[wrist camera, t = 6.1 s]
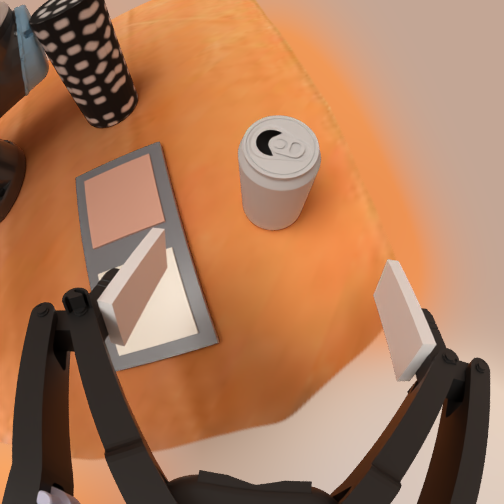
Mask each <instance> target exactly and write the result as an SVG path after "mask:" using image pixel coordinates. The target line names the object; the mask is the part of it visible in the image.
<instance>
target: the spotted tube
mask: <svg viewBox="0 0 504 504" xmlns="http://www.w3.org/2000/svg"><path fill="white" fill-rule="evenodd" d="M29 24H30V26H31V27H32V29H33V31H34V33H35V35H36V36H37V38H38V40H39V42H40V44H41V45H42V47H43V49H44V51H45V52H46V54H47V56H48V58H49V59H50V61H51V63H52V64H53V66H54V68H55V69H56V71H57V73H58V74H59V76H60V78H61V79H62V81H63V83H64V84H65V86H66V88H67V89H68V91H69V92H70V94H71V96H72V97H73V99H74V100H75V102H76V104H77V105H78V107H79V108H80V110H81V111H82V113H83V114H84V116H85V118H86V119H87V121H88V122H89V123H90V124H91V125H92V126H94V127H99V128H103V127H109V126H112V125H114V124H117V123H119V122H120V121H122V120H123V119H125V118H126V117H127V116H128V115H129V114H130V113H131V112H132V111H133V109H134V108H135V106H136V104H137V101H138V95H137V92H136V89H135V86H134V84H133V81H132V78H131V76H130V73H129V70H128V68H127V65H126V62H125V59H124V57H123V54H122V51H121V48H120V45H119V43H118V40H117V37H116V34H115V31H114V28H113V25H112V22H111V19H110V16H109V13H108V10H107V7H106V4H105V1H104V0H48V1H47V2H46V3H44V4H43V5H42V6H41V7H39V8H38V9H37V10H36V11H35V12H34V14H33V15H32V16H31V18H30V20H29Z"/></svg>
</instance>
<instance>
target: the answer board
mask: <svg viewBox="0 0 504 504" xmlns="http://www.w3.org/2000/svg"><path fill="white" fill-rule="evenodd" d="M76 191H77V202H78V212H79V221H80V229H81V236H82V243H83V249H84V255H85V261H86V267H87V272H88V277H89V282H90V287H91V291H92V290H93V288H94V287H95V286H96V285H97V283H98V282H99V281H100V280H101V278H102V277H103V275H104V274H105V273H106V272H107V271H109V270H111V269H112V268H118V269H121V267H122V266H123V265H124V263H125V262H126V261H127V259H128V258H129V257H130V255H131V254H132V253H133V252H134V250H135V249H136V248H137V247H138V245H139V244H140V243H141V242H142V240H143V239H144V238H145V237H146V235H147V234H148V233H149V232H150V230H151V229H152V228H161V229H165V241H166V256H167V269H166V271H165V273H164V275H163V276H162V278H161V280H160V282H159V283H158V285H157V287H156V289H155V291H154V292H153V294H152V296H151V298H150V300H149V301H148V303H147V305H146V307H145V309H144V311H143V313H142V314H141V316H140V318H139V320H138V322H137V324H136V326H135V328H134V329H133V331H132V333H131V335H130V337H129V339H128V341H127V343H126V345H125V347H124V346H121V345H117V344H113V343H111V341H110V339H109V336H107V338H106V340H105V343H106V346H107V349H108V352H109V355H110V357H111V360H112V363H113V366H114V369H115V371H119V370H124V369H128V368H132V367H136V366H139V365H143V364H147V363H151V362H155V361H158V360H162V359H166V358H169V357H173V356H176V355H180V354H183V353H187V352H190V351H193V350H197V349H200V348H203V347H207V346H210V345H213V344H216V343H219V342H220V341H219V339H218V336H217V333H216V330H215V327H214V324H213V321H212V318H211V315H210V312H209V309H208V306H207V303H206V300H205V297H204V294H203V291H202V288H201V285H200V281H199V278H198V275H197V272H196V269H195V265H194V262H193V259H192V255H191V252H190V249H189V245H188V242H187V239H186V235H185V232H184V228H183V225H182V221H181V218H180V214H179V210H178V207H177V203H176V199H175V196H174V192H173V188H172V184H171V181H170V177H169V173H168V169H167V165H166V161H165V157H164V153H163V149H162V146H161V144H160V142H156V143H154V144H151V145H148V146H146V147H143V148H141V149H138V150H136V151H133V152H131V153H129V154H126V155H124V156H122V157H119V158H117V159H115V160H112V161H110V162H108V163H106V164H103V165H101V166H99V167H97V168H95V169H93V170H91V171H89V172H86V173H84V174H82V175H80V176H78V177H76Z"/></svg>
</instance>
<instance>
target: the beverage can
mask: <svg viewBox="0 0 504 504" xmlns="http://www.w3.org/2000/svg"><path fill="white" fill-rule="evenodd" d="M238 161H239V172H240V182H241V193H242V204H243V209H244V212H245V214H246V216H247V217H248V218H249V220H250V221H251V222H252V223H254V224H255V225H257V226H258V227H260V228H263V229H267V230H279V229H283V228H286V227H288V226H290V225H291V224H292V223H294V222H295V221H296V219H297V218H298V217H299V215H300V213H301V210H302V208H303V206H304V203H305V201H306V199H307V196H308V194H309V191H310V189H311V187H312V184H313V182H314V180H315V177H316V175H317V172H318V170H319V167H320V163H321V154H320V150H319V143H318V140H317V138H316V136H315V134H314V133H313V131H312V130H311V129H310V128H309V127H308V126H307V125H306V124H304V123H303V122H301V121H299V120H297V119H295V118H292V117H288V116H269V117H265V118H262V119H260V120H258V121H257V122H255V123H253V124H252V125H251V126H250V127H249V128H248V130H247V131H246V133H245V135H244V137H243V139H242V140H241V142H240V145H239V149H238Z"/></svg>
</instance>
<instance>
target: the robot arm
mask: <svg viewBox="0 0 504 504" xmlns="http://www.w3.org/2000/svg"><path fill="white" fill-rule="evenodd" d="M30 18H31V15H30V13H29V11H28V9H27V8H26V6H25V5H21V6H19V7H16V8H15V9H14V10H13V11H12V10H11V9H10V8H9V6H8V5H7V4H6V3H5V2H0V118H1V117H2V116H3V115H4V114H5V113H6V112H7V111H8V110H9V109H11V108H12V107H13V106H14V105H15V104H16V103H17V102H18V101H20V100H21V99H22V98H23V97H24V96H27V95H28V94H29V91H31V90H32V89H33V88H34V87H35V86H36V85H37V84H39V83H40V82H41V81H42V80H43V79H44V78H45V77H46V75H47V73H48V70H49V64H48V60H47V57H46V54H45V51H44V49H43V47H42V45H41V44H40V42H39V40H38V38H37V36H36V35H35V33H34V31H33V29H32V27H31V26H30V24H29V20H30ZM25 166H26V161H25V155H24V152H23V151H22V149H21V148H19V147H18V146H17V145H16V144H15V143H13V142H11V141H8V140H2V139H0V222H1V221H2V220H3V218H4V217H5V216H6V215H7V213H8V212H9V210H10V209H11V207H12V205H13V203H14V202H15V200H16V198H17V195H18V193H19V191H20V188H21V185H22V182H23V178H24V174H25ZM166 269H167V256H166V241H165V229H161V228H152V229H151V230H150V232H149V233H148V234H147V235H146V237H145V238H144V239H143V240H142V242H141V243H140V244H139V245H138V247H137V248H136V249H135V250H134V252H133V253H132V254H131V255H130V257H129V258H128V259H127V261H126V262H125V263H124V265H123V266H122V267H121V269H118V268H112V269H111V270H109V271H107V272H106V273H105V274H104V275H103V277H102V278H101V280H100V281H99V282H98V283H97V285H96V286H95V287H94V288H93V290H92V291H91V292H90V294H89V293H88V291H87V290H85V289H84V288H73V289H71V290H69V291H68V292H66V293H65V294H64V296H63V298H62V302H63V305H64V307H65V310H64V311H55V308H54V306H53V305H52V304H51V303H47V302H44V303H40V304H39V305H37V306H36V307H35V308H34V309H33V310H32V312H31V316H30V320H29V324H28V328H27V332H26V337H25V341H24V346H23V351H22V356H21V362H20V368H19V374H18V381H17V388H16V397H15V406H14V419H13V439H12V466H11V470H10V473H9V477H8V481H7V484H6V488H5V493H4V497H3V501H2V504H80V503H79V501H78V500H77V499H76V498H74V497H73V488H74V484H73V471H72V463H71V451H70V437H69V365H70V351H75V356H76V360H77V364H78V368H79V372H80V376H81V380H82V383H83V387H84V390H85V394H86V397H87V400H88V404H89V407H90V410H91V413H92V416H93V419H94V422H95V425H96V427H97V430H98V433H99V436H100V438H101V441H102V443H103V446H104V449H105V454H104V455H105V459H106V461H107V464H108V466H109V469H110V471H111V473H112V475H113V477H114V480H115V482H116V484H117V486H118V488H119V490H120V492H121V494H122V496H123V498H124V500H125V502H126V504H390V503H391V502H392V501H393V499H394V498H395V496H396V495H397V494H398V492H399V490H400V488H401V483H400V482H401V480H402V478H403V476H404V475H405V473H406V472H407V470H408V469H409V467H410V465H411V464H412V462H413V460H414V459H415V457H416V455H417V454H418V452H419V450H420V448H421V446H422V445H423V443H424V441H425V439H426V437H427V435H428V434H429V432H430V430H431V428H432V426H433V424H434V422H435V420H436V418H437V416H438V413H439V411H440V409H441V407H442V405H443V407H442V413H441V418H440V424H439V428H438V433H437V438H436V442H435V446H434V450H433V454H432V458H431V461H430V465H429V469H428V472H427V475H426V478H425V482H424V485H423V488H422V491H421V494H420V497H419V499H418V502H417V504H476V502H477V498H478V494H479V489H480V484H481V479H482V474H483V468H484V462H485V455H486V447H487V438H488V428H489V412H490V369H489V366H488V364H487V363H486V362H485V361H484V360H483V359H481V358H474V359H473V360H472V361H471V362H470V363H466V362H462V361H459V359H458V356H457V355H456V353H455V352H453V351H452V350H450V349H448V348H446V346H445V343H444V341H443V339H442V337H441V334H440V332H439V330H438V327H437V325H436V324H435V321H434V318H433V316H432V315H431V313H430V312H429V311H428V310H427V309H422V308H421V307H420V305H419V302H418V300H417V298H416V296H415V294H414V292H413V289H412V288H411V285H410V283H409V281H408V279H407V277H406V275H405V273H404V271H403V269H402V267H401V265H400V263H399V261H395V260H388V259H387V262H386V264H385V267H384V270H383V272H382V275H381V277H380V280H379V282H378V285H377V287H376V290H375V292H374V295H373V296H374V299H375V303H376V306H377V309H378V312H379V316H380V319H381V322H382V326H383V329H384V333H385V336H386V340H387V344H388V347H389V351H390V355H391V359H392V363H393V366H394V371H395V375H396V380H397V381H410V380H411V378H412V377H413V376H414V375H415V374H416V377H417V381H416V382H415V383H414V384H413V386H412V387H411V388H410V389H409V391H408V395H407V397H406V398H405V400H404V401H403V403H402V405H401V406H400V408H399V409H398V411H397V412H396V414H395V415H394V417H393V418H392V420H391V421H390V423H389V424H388V426H387V427H386V429H385V430H384V432H383V433H382V434H381V436H380V437H379V439H378V440H377V441H376V443H375V444H374V445H373V447H372V448H371V449H370V451H369V452H368V453H367V455H366V456H365V457H364V458H363V460H362V461H361V462H360V463H359V465H358V466H357V467H356V468H355V469H354V471H353V472H352V473H351V474H350V475H349V477H348V478H347V479H346V480H345V481H344V482H343V483H342V484H341V485H340V486H339V487H338V488H337V489H336V490H334V492H332V493H331V495H329V494H328V493H326V492H324V491H322V490H320V489H318V488H315V487H311V484H312V482H306V481H305V482H304V481H302V482H300V481H281V482H275V483H267V484H260V485H254V484H250V483H248V482H245V481H242V480H239V479H237V478H234V477H231V476H229V475H224V474H218V473H212V472H207V471H202V470H200V471H199V475H188V476H183V477H179V478H177V479H174V480H172V481H170V482H168V480H167V478H166V477H165V475H164V473H163V472H162V470H161V468H160V466H159V465H158V463H157V462H156V460H155V458H154V456H153V454H152V452H151V450H150V448H149V446H148V444H147V442H146V440H145V438H144V436H143V434H142V432H141V430H140V428H139V426H138V424H137V422H136V419H135V417H134V415H133V413H132V411H131V408H130V406H129V404H128V401H127V399H126V397H125V394H124V392H123V389H122V387H121V384H120V382H119V379H118V377H117V374H116V371H115V369H114V366H113V363H112V360H111V357H110V355H109V352H108V349H107V346H106V343H105V340H106V338H107V336H109V339H110V341H111V343H113V344H117V345H121V346H124V347H125V345H126V343H127V341H128V339H129V337H130V335H131V333H132V331H133V329H134V328H135V326H136V324H137V322H138V320H139V318H140V316H141V314H142V313H143V311H144V309H145V307H146V305H147V303H148V301H149V300H150V298H151V296H152V294H153V292H154V291H155V289H156V287H157V285H158V283H159V282H160V280H161V278H162V276H163V275H164V273H165V271H166Z"/></svg>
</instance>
